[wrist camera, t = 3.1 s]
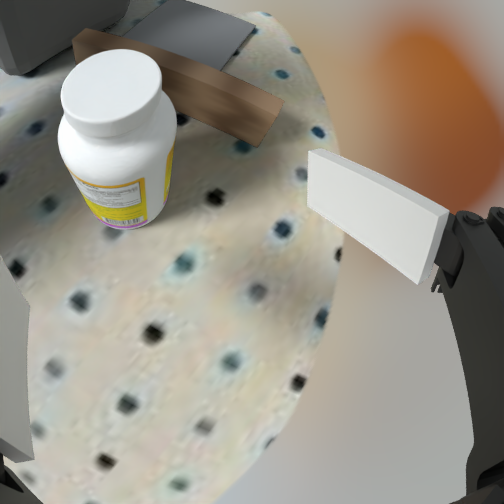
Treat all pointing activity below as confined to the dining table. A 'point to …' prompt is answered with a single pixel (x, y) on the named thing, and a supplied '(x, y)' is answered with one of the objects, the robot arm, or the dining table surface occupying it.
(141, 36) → the rubber mat
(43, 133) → the dining table surface
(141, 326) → the dining table surface
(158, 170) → the supplement bottle
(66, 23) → the alarm clock
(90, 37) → the walnut rail
